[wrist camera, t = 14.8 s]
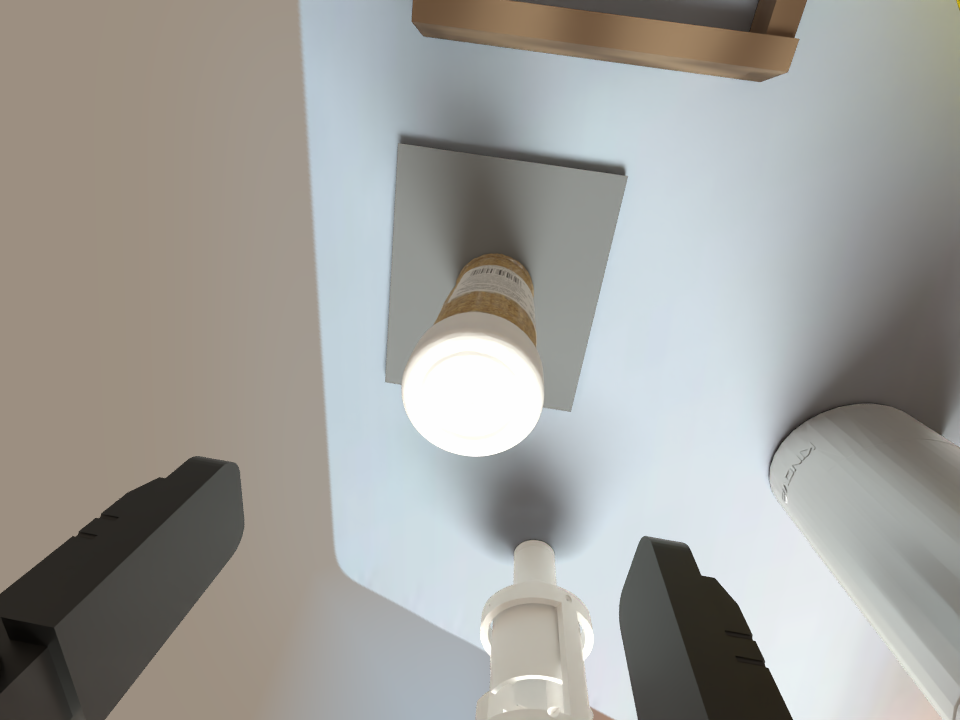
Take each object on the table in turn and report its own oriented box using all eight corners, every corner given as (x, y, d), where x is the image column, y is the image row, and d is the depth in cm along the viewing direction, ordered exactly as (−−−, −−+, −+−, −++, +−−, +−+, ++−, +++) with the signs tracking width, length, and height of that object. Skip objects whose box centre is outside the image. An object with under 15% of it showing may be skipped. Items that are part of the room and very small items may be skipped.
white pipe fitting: (521, 503, 33) (518, 745, 19) (600, 548, 34) (652, 809, 20) (470, 562, 36) (436, 811, 22) (545, 602, 37) (558, 865, 23)
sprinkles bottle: (443, 306, 27) (375, 422, 15) (478, 236, 25) (435, 302, 13) (511, 341, 28) (500, 484, 15) (550, 275, 26) (574, 375, 13)
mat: (625, 175, 24) (627, 176, 23) (570, 407, 30) (570, 411, 29) (400, 143, 24) (398, 143, 24) (387, 378, 30) (385, 382, 29)
